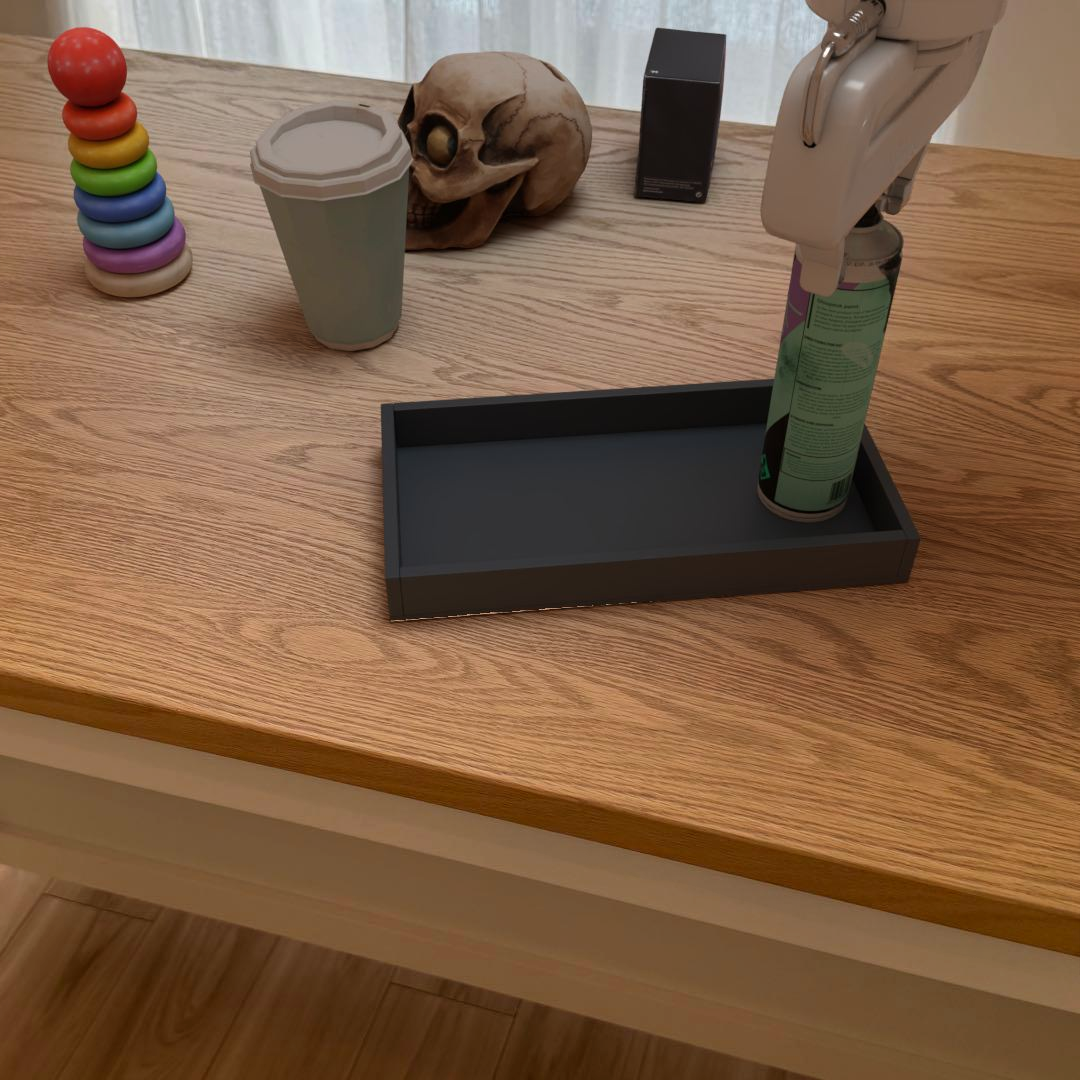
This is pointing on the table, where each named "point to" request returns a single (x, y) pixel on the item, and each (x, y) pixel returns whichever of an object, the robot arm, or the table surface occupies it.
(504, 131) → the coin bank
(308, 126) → the disposable coffee cup
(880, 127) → the robot arm
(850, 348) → the spray can
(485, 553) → the tray
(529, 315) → the table surface
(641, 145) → the small box
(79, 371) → the table surface
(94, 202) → the stacking toy
